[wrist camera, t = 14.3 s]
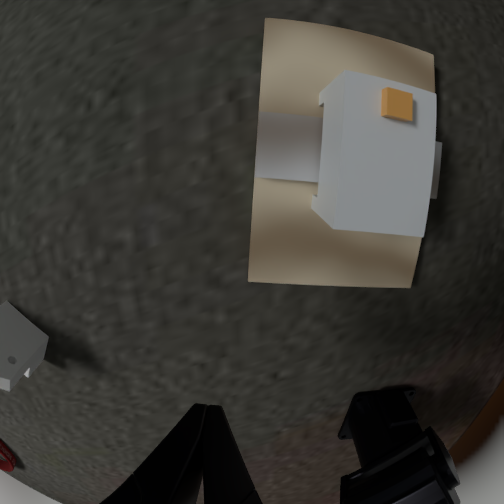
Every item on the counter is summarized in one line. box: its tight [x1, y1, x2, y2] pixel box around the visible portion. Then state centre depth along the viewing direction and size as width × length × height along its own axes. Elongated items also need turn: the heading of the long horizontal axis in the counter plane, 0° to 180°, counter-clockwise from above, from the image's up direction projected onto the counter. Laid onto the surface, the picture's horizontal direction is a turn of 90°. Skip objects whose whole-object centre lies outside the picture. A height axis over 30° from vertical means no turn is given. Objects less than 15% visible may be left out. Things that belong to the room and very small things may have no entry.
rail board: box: [248, 18, 442, 288], centre depth 16 cm, size 16×11×2 cm
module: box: [311, 70, 436, 237], centre depth 13 cm, size 7×4×6 cm
